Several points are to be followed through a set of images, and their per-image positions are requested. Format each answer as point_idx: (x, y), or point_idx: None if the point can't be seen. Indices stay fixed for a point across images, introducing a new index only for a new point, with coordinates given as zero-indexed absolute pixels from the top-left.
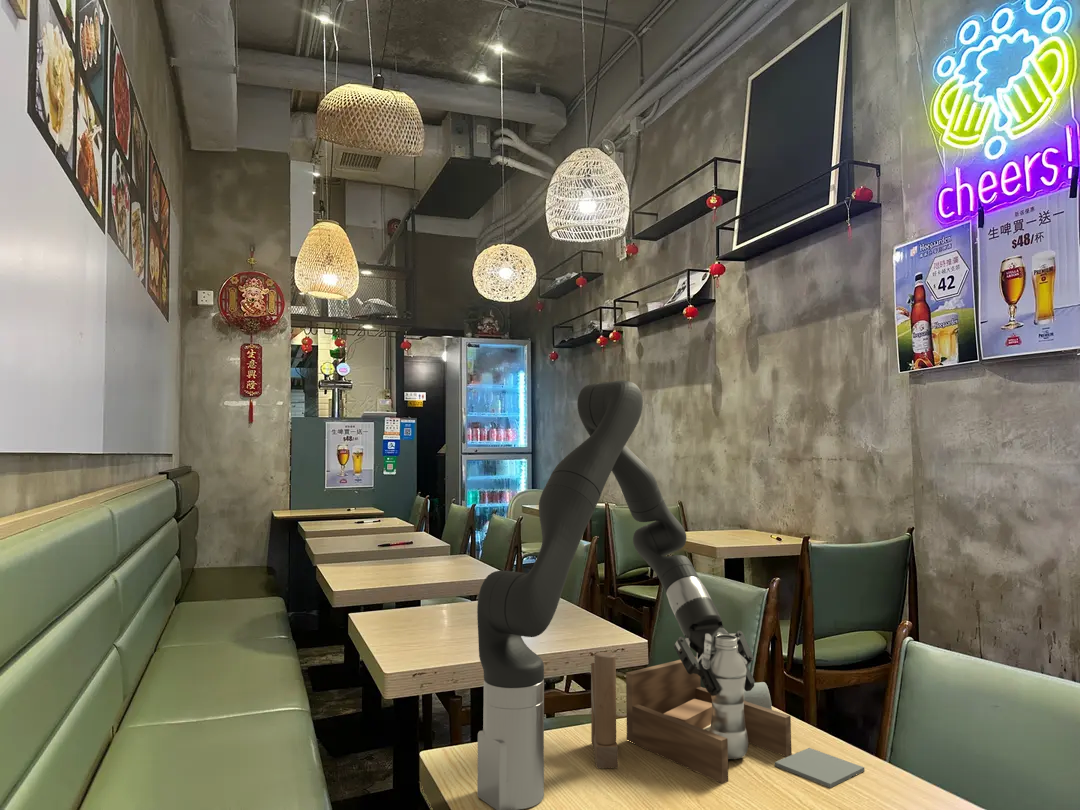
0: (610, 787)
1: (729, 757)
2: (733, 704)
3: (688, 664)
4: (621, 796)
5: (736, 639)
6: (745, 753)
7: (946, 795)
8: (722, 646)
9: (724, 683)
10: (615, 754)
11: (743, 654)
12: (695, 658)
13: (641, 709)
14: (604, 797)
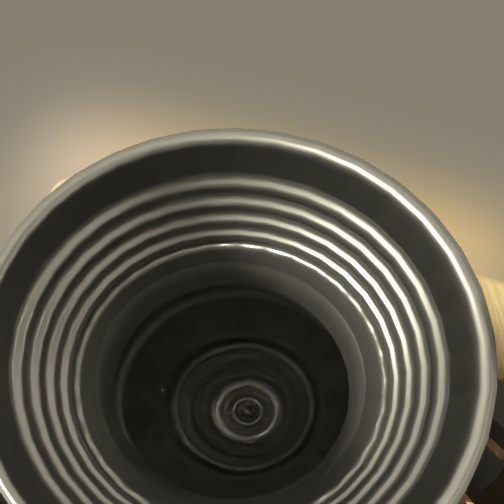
0: (495, 321)
1: (268, 375)
2: (254, 348)
3: (477, 466)
4: (485, 291)
5: (79, 191)
6: (219, 378)
7: (53, 187)
8: (361, 264)
9: (307, 325)
10: (500, 379)
11: (4, 501)
12: (496, 417)
13: (464, 497)
14: (500, 293)
